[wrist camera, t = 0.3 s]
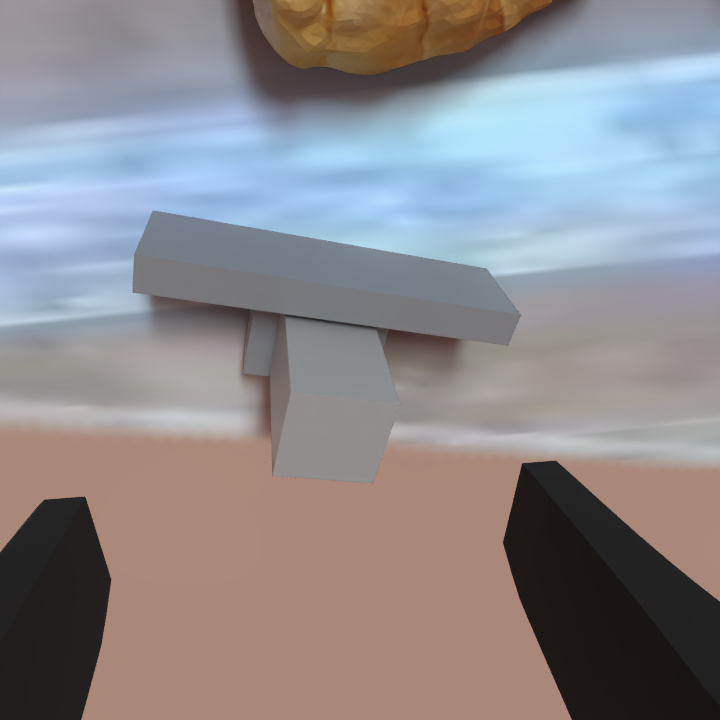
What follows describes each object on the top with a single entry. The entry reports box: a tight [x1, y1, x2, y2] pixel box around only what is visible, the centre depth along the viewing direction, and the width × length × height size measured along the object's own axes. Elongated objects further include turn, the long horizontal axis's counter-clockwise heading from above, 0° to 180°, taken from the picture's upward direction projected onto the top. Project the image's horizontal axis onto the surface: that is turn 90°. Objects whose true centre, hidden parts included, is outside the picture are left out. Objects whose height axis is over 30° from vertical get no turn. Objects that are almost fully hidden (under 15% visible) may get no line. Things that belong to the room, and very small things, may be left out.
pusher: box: [133, 211, 521, 483], centre depth 16 cm, size 10×4×6 cm, turn 76°
